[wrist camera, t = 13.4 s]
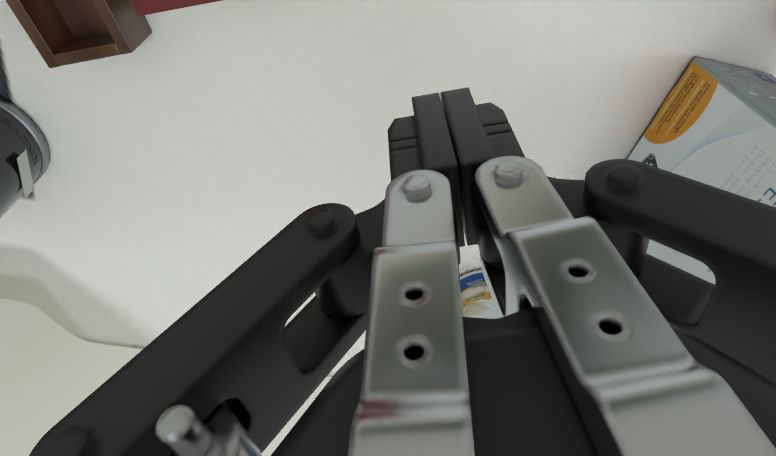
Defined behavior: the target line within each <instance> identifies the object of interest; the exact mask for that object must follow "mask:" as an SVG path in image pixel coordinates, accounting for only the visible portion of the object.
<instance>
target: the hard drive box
mask: <svg viewBox="0 0 776 456" xmlns="http://www.w3.org/2000/svg"><path fill="white" fill-rule="evenodd" d="M627 160H634V161H638V162H642V163H645V164H648V165H651V166H654V167H657V168H660V169H663V170H666V171H669V172H672V173H675V174H678V175H681V176H684V177H686V178H689V179H692V180H695V181H698V182H701V183H704V184H707V185H710V186H713V187H716V188H719V189H722V190H725V191H728V192H731V193H734V194H737V195H740V196H743V197H746V198H749V199H752V200H755V201H758V202H761V203H764V204H767V205H770V206H773V207H776V78H775V77H774V76H773V75H771V74H767V73H763V72H759V71H755V70H751V69H747V68H743V67H738V66H734V65H730V64H726V63H722V62H717V61H713V60H709V59H704V58H699V57H696V58H694V59H693V61H692V62H691V64H690V65H689V67H688V68H687V70H686V71H685V73H684V74H683V76H682V77H681V79H680V80H679V82H678V83H677V85H676V86H675V88H674V89H673V90H672V91H671V92H670V93H669V95H668V96H667V98H666V99H665V101H664V103H663V104H662V106H661V108H660V110H659V112H658V113H657V115H656V116H655V118H654V120H653V121H652V123H651V124H650V126H649V127H648V129H647V130H646V132H645V133H644V135H643V136H642V138H641V139H640V141H639V142H638V144H637V145H636V147H635V148H634V150H633V151H632V153H631V154H630V156H629V157H628V159H627ZM646 253H647V254H649V255H651V256H653V257H655V258H658V259H660V260H662V261H664V262H666V263H669V264H671V265H673V266H675V267H677V268H679V269H682V270H684V271H686V272H688V273H690V274H692V275H695V276H697V277H699V278H701V279H703V280H705V281H708V282H710V283H712V284H715V282H716V280H715V276H714V274H713V272H712V271H711V269H710V268H709V267H708V266H706V265H705V264H704V263H702V262H701V261H699V260H696V259H694V258H692V257H690V256H687V255H685V254H683V253H680V252H678V251H676V250H674V249H671V248H669V247H667V246H664V245H662V244H660V243H658V242H655V241H653V240H651V239H650V240H649V244H648V248H647V252H646Z"/></svg>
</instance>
